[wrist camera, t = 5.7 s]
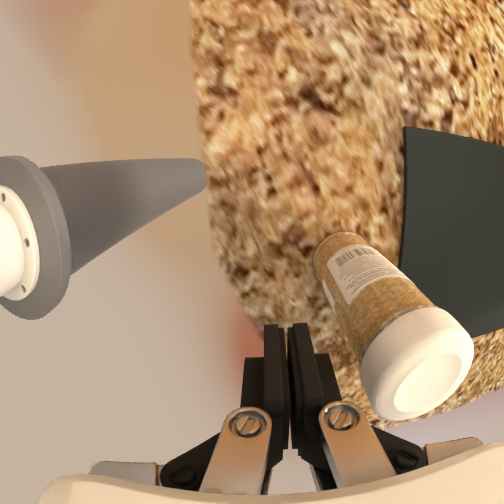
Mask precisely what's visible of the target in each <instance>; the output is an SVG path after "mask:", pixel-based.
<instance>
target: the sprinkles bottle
mask: <svg viewBox="0 0 504 504" xmlns="http://www.w3.org/2000/svg"><path fill="white" fill-rule="evenodd" d="M313 267H314V271H315V274H316V276H317V278H318V279H319V281H320V282H321V283H322V285H323V288H324V291H325V294H326V296H327V298H328V300H329V303H330V305H331V307H332V309H333V311H334V313H335V315H336V317H337V318H338V319H339V321H340V323H341V325H342V327H343V330H344V332H345V334H346V336H347V339H348V341H349V343H350V345H351V348H352V350H353V352H354V354H355V356H356V358H357V361H358V362H359V365H360V378H361V382H362V385H363V387H364V390H365V392H366V395H367V397H368V399H369V401H370V404H371V406H372V408H373V410H374V411H375V412H376V413H377V414H378V415H379V416H380V417H382V418H384V419H387V420H393V421H400V420H407V419H411V418H415V417H418V416H420V415H422V414H425V413H427V412H428V411H430V410H432V409H434V408H435V407H437V406H438V405H440V404H441V403H442V402H443V401H445V400H446V399H447V398H448V397H449V396H450V395H451V394H452V393H453V392H454V391H455V390H456V389H457V388H458V386H459V385H460V384H461V382H462V381H463V380H464V378H465V376H466V375H467V373H468V371H469V369H470V366H471V363H472V360H473V354H474V347H473V342H472V339H471V337H470V336H469V334H468V333H467V332H466V330H465V329H464V328H463V327H462V326H461V325H460V324H459V323H458V322H457V321H456V320H455V319H454V318H453V317H452V316H451V315H450V314H449V313H448V312H446V311H445V310H443V309H440V308H438V306H435V305H434V304H433V303H432V302H431V301H430V300H429V299H428V298H427V297H426V296H425V295H424V294H423V293H422V292H421V291H420V290H419V289H418V288H417V287H416V285H415V284H414V283H413V282H412V281H411V280H410V279H409V278H407V277H406V276H405V275H404V274H403V273H402V272H401V271H400V270H399V269H397V268H396V267H395V266H394V265H393V264H392V263H391V262H389V261H388V260H387V259H386V258H385V257H384V256H382V255H381V254H380V253H379V252H378V251H376V250H375V249H373V248H372V247H370V246H369V245H368V244H367V243H366V242H365V241H364V239H363V238H362V237H361V236H359V235H358V234H355V233H353V232H349V231H341V232H336V233H333V234H331V235H329V236H327V237H326V238H325V239H324V240H323V241H322V242H321V243H320V244H319V246H318V247H317V249H316V251H315V253H314V257H313Z"/></svg>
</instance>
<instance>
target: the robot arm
mask: <svg viewBox="0 0 504 504" xmlns="http://www.w3.org/2000/svg"><path fill="white" fill-rule="evenodd" d="M39 270H40V257H39V247H38V241H37V236H36V233H35V229H34V225H33V223H32V220H31V218H30V215H29V213H28V211H27V209H26V207H25V205H24V203H23V202H22V200H21V199H20V198H19V196H18V195H17V194H16V193H15V192H14V191H13V190H12V189H10V188H8V187H6V186H3V185H0V297H1V296H4V297H6V298H8V299H10V300H14V301H16V300H21V299H24V298H25V297H27V296H28V295H29V294H30V293H31V292H32V291H33V290H34V288H35V286H36V284H37V281H38V276H39ZM289 421H290V425H291V440H292V449H298V456H301V458H302V459H303V460H305V461H307V462H308V463H309V464H310V470H311V473H312V476H313V479H314V483H315V486H316V489H317V492H307V493H296V494H280V495H268V491H269V485H270V480H271V475H272V467H274V466H275V465H276V464H277V463H279V462H280V461H281V460H282V458H283V449H288V437H289ZM36 504H504V442H496V443H490V444H486V445H483V443H482V442H481V441H480V440H479V439H477V438H474V437H468V438H463V439H458V440H452V441H445V442H438V443H431V444H426V445H425V446H424V447H419V446H417V445H415V444H413V443H411V442H408V441H406V440H404V439H401V438H399V437H397V436H394V435H392V434H389V433H387V432H385V431H383V430H381V429H378V428H376V427H374V426H372V425H370V423H369V421H368V420H367V418H366V416H365V414H364V412H363V411H362V409H361V408H360V407H359V406H357V405H356V404H354V403H352V402H349V401H342V398H341V395H340V391H339V387H338V384H337V380H336V377H335V373H334V370H333V367H332V363H331V360H330V357H329V354H328V353H326V354H314V350H313V345H312V341H311V337H310V333H309V329H308V325H307V323H294V324H293V327H288V337H287V356H286V346H285V337H284V328H278V324H274V325H264V357H253V358H245V362H244V373H243V384H242V395H241V406H240V408H238V409H236V410H234V411H232V412H231V413H230V414H229V415H227V417H226V419H225V421H224V423H223V426H222V429H221V432H220V433H218V434H217V435H215V436H213V437H211V438H210V439H208V440H206V441H205V442H203V443H201V444H200V445H198V446H196V447H195V448H193V449H191V450H189V451H188V452H186V453H184V454H182V455H180V456H178V457H177V458H175V459H173V460H171V461H169V462H168V463H167V464H165V465H157V464H156V463H137V462H133V463H132V462H114V461H101V462H98V463H96V464H94V465H93V466H92V467H91V468H90V471H89V473H88V474H79V475H78V474H77V475H68V476H63V477H60V478H57V479H55V480H54V481H52V482H51V483H50V484H49V485H48V486H47V488H46V489H45V490H44V492H43V493H42V494H41V496H40V497H39V499H38V501H37V503H36Z"/></svg>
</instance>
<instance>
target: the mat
mask: <svg viewBox="0 0 504 504" xmlns="http://www.w3.org/2000/svg"><path fill="white" fill-rule="evenodd" d="M403 129H404V151H405V193H404V216H403V231H402V242H401V252H400V261H399V270H400V271H401V272H402V273H403V274H404V275H405V276H406V277H407V278H409V279H410V280H411V281H412V282H413V283H414V284H415V285H416V287H417V288H418V289H419V290H420V291H421V292H422V293H423V294H424V295H425V296H426V297H427V298H428V299H429V300H430V301H431V302H432V303H433V304H434V305H435V306H438V308H440V309H443V310H445V311H446V312H448V313H449V314H450V315H451V316H452V317H453V318H454V319H455V320H456V321H457V322H458V323H459V324H460V325H461V326H462V327H463V328H464V329H465V330H466V332H467V333H468V334H469V336H470V337H471V338H474V337H477V336H480V335H483V334H487V333H490V332H493V331H496V330H499V329H502V328H504V147H503V146H499V145H496V144H492V143H488V142H484V141H481V140H476V139H472V138H468V137H463V136H459V135H454V134H449V133H444V132H438V131H433V130H427V129H420V128H414V127H406V126H405V127H403Z"/></svg>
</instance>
